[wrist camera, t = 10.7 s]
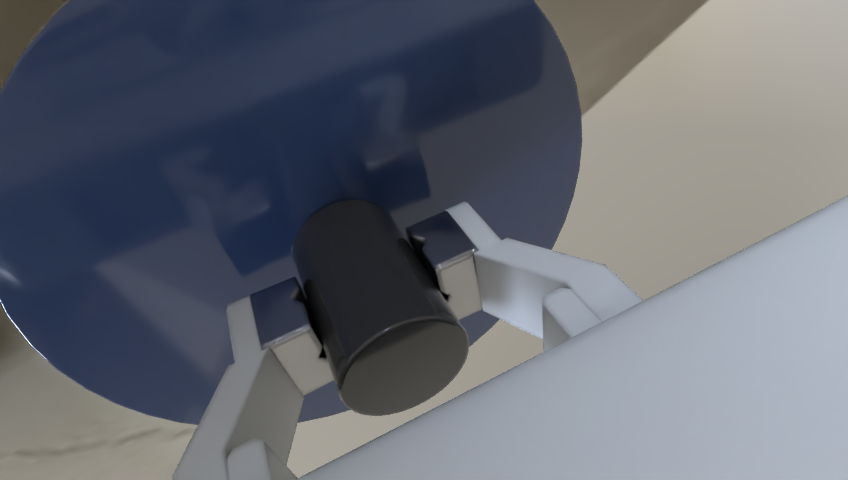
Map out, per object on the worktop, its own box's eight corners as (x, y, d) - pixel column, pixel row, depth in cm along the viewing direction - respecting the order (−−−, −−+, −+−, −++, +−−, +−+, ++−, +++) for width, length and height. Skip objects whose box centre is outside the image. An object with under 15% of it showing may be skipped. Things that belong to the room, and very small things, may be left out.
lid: (-264, 48, 7) (-731, 280, 3) (554, -188, 9) (819, -209, 6) (203, 453, 16) (219, 635, 12) (557, 281, 19) (658, 390, 15)
